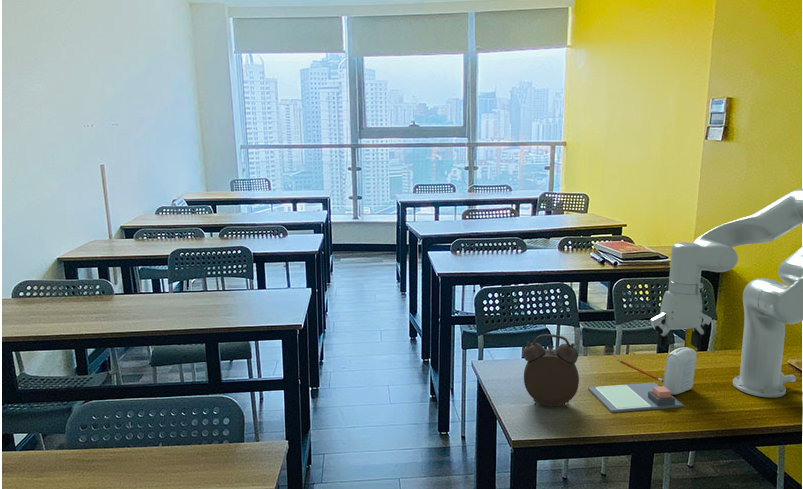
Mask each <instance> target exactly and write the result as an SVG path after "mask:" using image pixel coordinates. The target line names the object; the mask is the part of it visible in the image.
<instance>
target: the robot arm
mask: <svg viewBox="0 0 803 489" xmlns="http://www.w3.org/2000/svg"><path fill="white" fill-rule="evenodd" d="M802 225H803V188H798V189H795V190H792V191H791V192H788V193H786V194H785V195H782V196H781V197H779V198H778V199H776V200H774V201H773V202H772V203H770V204H768V205H766V206H765V207H763V208H762V209H760V210H758V211H756V212H755V213H754V212H753V213H752V214H750V215H748V216H744V217H740V218H738V219H735V220H733V221H732V220H731V221H729V222H727V223H726V222H725V223H723V224H721V225H718V226H716V227H714V228H712V229H710V230H708V231H707V232H705V233H704V234H701V235H700V236H699V237H697V238H696V239H694V240H693V241H692V242H690V241H689V242H685V241H684V242H683V241H681V242H679V241H678V242H676V243H673V245H672V247H671V253H670V254H671V255H670V265H669V279H668V290H665V291H664V294H663V297H662V301H661V306H660V310H659V314H658V315H656V316H654V317H652V318H651V319H650V320H649V321H650V324H651V326H652V329H653V330H654V331H655V332H656V333H657V346H658V347H659V348H660V349H661V350H664V351H666V350H668V340H669V339H668V338H669V337H668V336H667V335H668V333H669V332H670V331H671V330H689V329H690V330H691V329H693V330H692V331H691V335H690V336H691V338H690V345H691V346H692V347H695V348H696V349H700V347H701V343H702V335H704V334H705V331H706V330H707V329H708V328H709V326H710V323H711V322H712V320H713V319H712V318H713V317H711V316H708V315H707V314H705V313H703V299H702V298H703V297H702V293H701V292H700V291H701V290H700V289H703V288H704V283H702V282H701V276H702V271H707V272H708V271H709V272H714V273H725V272H729V271H730V270H732V269H734V268H735V266H736V265H737V264H738V263H739V261H738V260H739V256H738V253H737V251H736V249H734V248H735V247H738V246H744V245H754V244H755V245H756V244H764V243H770V242H773V241H775V240H777V239H779V238H780V237H782V236H784V235H785V234H787V233H788V232H791V231H792V230H793V229H794V230H795V228H798V227H799V226H802ZM777 275H778V277H779V279H780V280H781V281H782V282H780V281H777V280H775V279H771V278H767V277H766V278H765V277H760V278H758V277H757V278H755V279H752V280H750V281H749V282H748V283H747V284H746V286H745V287H744V289H743V293H742V303H743V312H744V314H743V315H744V322H743V325H744V326H743V334H742V345H741V356H740V368H739V375H738V376H735V377H734V378H732V385H733V387H735V388H736V389H737V390H739V391H741V392H743V393H746V394H749V395H751V396H755V397H760V398H770V399H771V398H781V397H783V396H784V395H786V393H787V392H786V391H787V389H786V387H785V386H784V384H786V383H794V382H796V381H797V376H795V375H794V374H786V375H785V374H784V372H782V364H783V355H784V345H785V337H786V325H787V324H788V325H795V324H798V323H801V322H802V321H803V245H801V247H800V248H798V249H797V250H796V251H795V252H793V253H792V254H791V255H789V256H788V257H787V258H786V259H785V260H784V261H782V262H781V263H780V265H779V267H778V270H777ZM783 282H784V283H783ZM659 324H660V325H659Z"/></svg>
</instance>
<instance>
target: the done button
mask: <svg viewBox="0 0 803 489" xmlns="http://www.w3.org/2000/svg"><path fill="white" fill-rule="evenodd" d="M659 386H660V385H659ZM653 394H654V395H655V396H656V397H658V398H670V397H671V395H672V394H671V391H670V390H668V389H667V388H666V387H664V386H663V385H661V386H660V387H653Z"/></svg>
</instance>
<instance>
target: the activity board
mask: <svg viewBox="0 0 803 489" xmlns="http://www.w3.org/2000/svg"><path fill="white" fill-rule="evenodd" d="M653 387H660V385H658V384H657V383H656V382H644V383H643V382H642V383H631V384H616V385H604V386H589V387H588V388H587V389H588V391H589V392H590V393H591V394H592V395H593V396H594V398H596V399H598V401H599V402H600V403H601V404H602V405H603V406H604V407H605V408H606V409H607V410H608V411H609V412H610V413H621V412H636V411H646V410H647V411H648V410H649V411H650V410H660V409H672V408H673V409H675V408H684V404H683V403H681V402H680V401H679V400H678V399H677V398H676V397H674V396H673V395H672V394H671V397H670V398H658V397H656V396H655V395H654V394H653Z"/></svg>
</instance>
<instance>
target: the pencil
mask: <svg viewBox="0 0 803 489" xmlns="http://www.w3.org/2000/svg"><path fill="white" fill-rule="evenodd" d="M617 361H618V362H619V363H621V364H624V365H625V366H627V367H630V368H632V369H634V370H636V371H638V372H640V373H642V374H645V375H646V376H648V377H650V378H653V379H655V380H657V381H659V380H660V381H659V382H661V381H662V383H663V381H664V378H660V377H658V376H656V375H654V374H652V373H650V372H648V371H646V370H644V369H642V368H639V367H637V366H635V365H633V364H631V363H628V362H626V361H624V360H622V359H617Z"/></svg>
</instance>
